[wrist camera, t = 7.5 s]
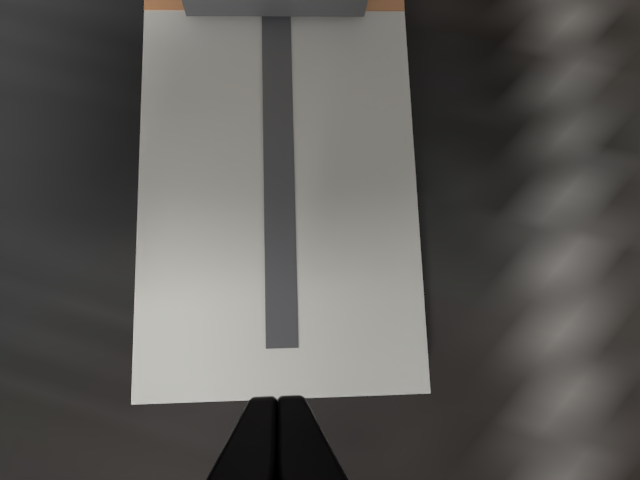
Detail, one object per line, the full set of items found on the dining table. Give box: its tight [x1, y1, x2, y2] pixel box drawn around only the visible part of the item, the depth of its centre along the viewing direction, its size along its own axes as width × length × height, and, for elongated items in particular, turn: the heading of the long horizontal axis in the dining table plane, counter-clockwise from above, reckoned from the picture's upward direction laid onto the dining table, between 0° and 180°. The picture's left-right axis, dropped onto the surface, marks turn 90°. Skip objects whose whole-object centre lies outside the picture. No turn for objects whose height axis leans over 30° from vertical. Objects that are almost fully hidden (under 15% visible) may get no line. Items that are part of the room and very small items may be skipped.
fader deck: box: [131, 0, 431, 405], centre depth 19 cm, size 15×9×2 cm, turn 2°
